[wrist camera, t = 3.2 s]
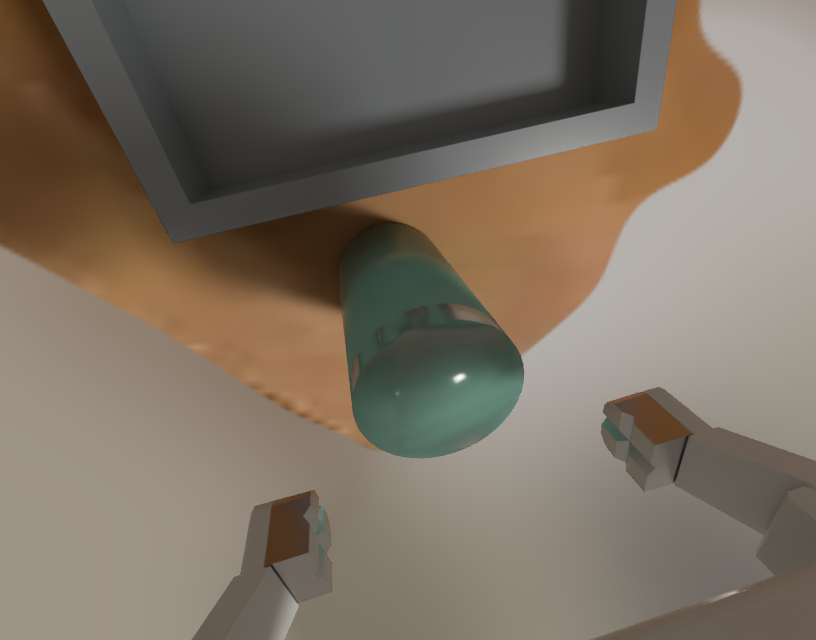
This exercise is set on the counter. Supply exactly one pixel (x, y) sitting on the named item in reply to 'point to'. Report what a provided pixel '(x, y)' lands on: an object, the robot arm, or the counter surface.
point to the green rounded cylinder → (421, 347)
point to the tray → (354, 93)
